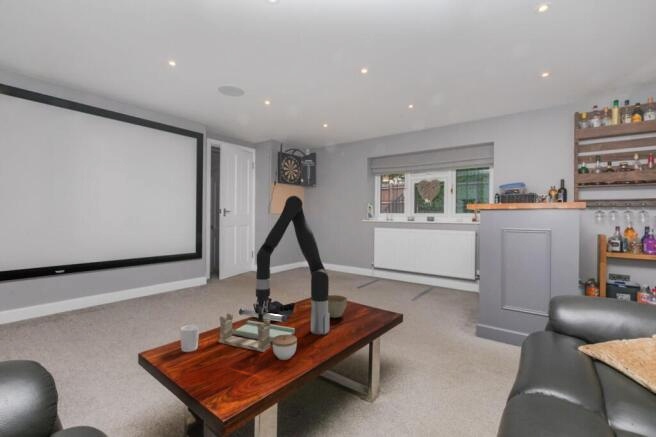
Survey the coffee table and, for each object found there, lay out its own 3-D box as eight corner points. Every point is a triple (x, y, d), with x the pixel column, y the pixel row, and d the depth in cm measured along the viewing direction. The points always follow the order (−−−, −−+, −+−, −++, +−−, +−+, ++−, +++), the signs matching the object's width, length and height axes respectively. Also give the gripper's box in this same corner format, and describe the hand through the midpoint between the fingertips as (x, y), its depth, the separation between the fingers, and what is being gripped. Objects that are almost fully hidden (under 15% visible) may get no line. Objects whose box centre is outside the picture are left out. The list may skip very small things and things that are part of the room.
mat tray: (294, 332, 158) (294, 328, 158) (279, 343, 144) (279, 339, 144) (248, 324, 169) (248, 320, 169) (230, 334, 155) (230, 329, 155)
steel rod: (287, 321, 153) (287, 314, 153) (283, 323, 150) (283, 316, 150) (242, 313, 164) (243, 307, 164) (238, 315, 160) (238, 309, 160)
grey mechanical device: (275, 309, 197) (275, 296, 197) (296, 316, 184) (296, 301, 184) (252, 316, 184) (252, 301, 184) (273, 324, 171) (273, 308, 171)
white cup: (202, 347, 139) (202, 326, 139) (188, 354, 132) (188, 331, 132) (190, 344, 143) (190, 323, 143) (176, 350, 135) (176, 329, 135)
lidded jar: (275, 350, 136) (275, 330, 136) (298, 351, 136) (298, 330, 136) (269, 362, 126) (269, 340, 126) (295, 362, 125) (295, 340, 125)
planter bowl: (347, 320, 178) (347, 301, 178) (320, 319, 178) (320, 301, 178) (346, 311, 194) (346, 294, 194) (321, 311, 194) (321, 294, 194)
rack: (270, 346, 140) (271, 320, 140) (263, 352, 135) (263, 324, 135) (227, 337, 150) (227, 313, 150) (218, 342, 145) (218, 316, 145)
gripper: (261, 290, 149) (260, 325, 149) (276, 285, 162) (275, 316, 162) (248, 289, 152) (248, 323, 152) (264, 283, 164) (264, 314, 165)
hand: (262, 319), depth 157 cm, fingers closed on steel rod, 3 cm apart
